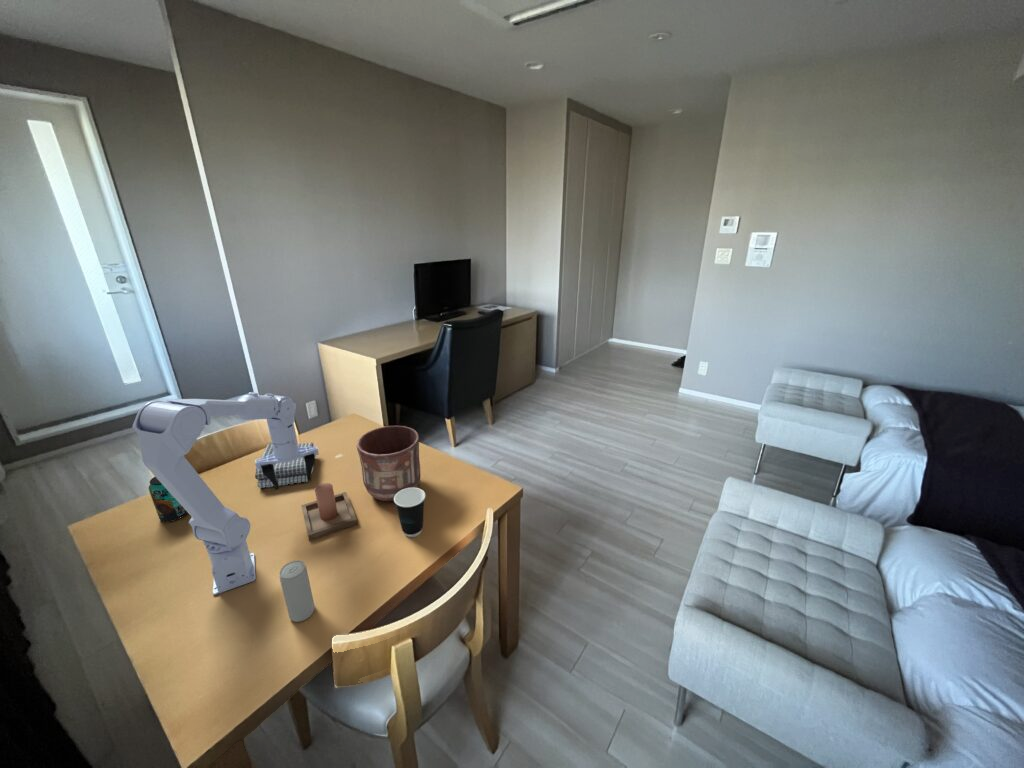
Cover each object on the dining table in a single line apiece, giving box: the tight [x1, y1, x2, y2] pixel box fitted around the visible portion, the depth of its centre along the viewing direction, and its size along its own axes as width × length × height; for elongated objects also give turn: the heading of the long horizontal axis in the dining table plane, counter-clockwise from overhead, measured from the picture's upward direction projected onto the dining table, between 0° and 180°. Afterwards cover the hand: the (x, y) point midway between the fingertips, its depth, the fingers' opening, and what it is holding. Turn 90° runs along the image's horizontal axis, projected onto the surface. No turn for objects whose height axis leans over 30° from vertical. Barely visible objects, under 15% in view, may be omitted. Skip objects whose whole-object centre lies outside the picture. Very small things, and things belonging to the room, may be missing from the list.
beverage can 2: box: [278, 560, 316, 623], centre depth 83 cm, size 5×5×12 cm
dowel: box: [314, 482, 338, 521], centre depth 111 cm, size 4×4×9 cm
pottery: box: [356, 425, 421, 503], centre depth 121 cm, size 18×18×18 cm
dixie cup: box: [393, 487, 426, 538], centre depth 106 cm, size 8×8×11 cm
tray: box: [300, 491, 358, 542], centre depth 112 cm, size 14×12×2 cm
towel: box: [254, 442, 314, 489], centre depth 132 cm, size 15×18×8 cm
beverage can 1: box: [148, 476, 189, 522], centre depth 111 cm, size 7×7×12 cm
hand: (293, 483), depth 110 cm, fingers open, 7 cm apart
